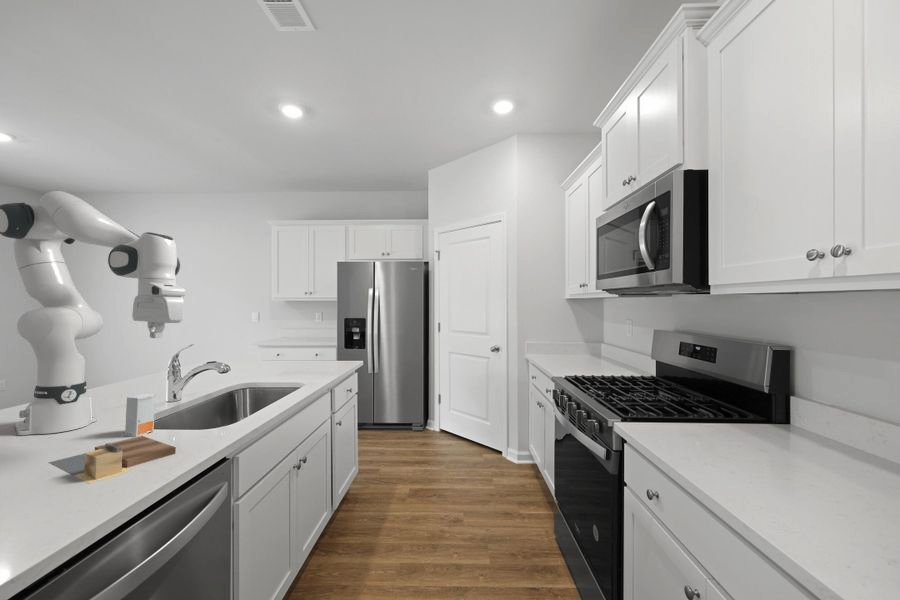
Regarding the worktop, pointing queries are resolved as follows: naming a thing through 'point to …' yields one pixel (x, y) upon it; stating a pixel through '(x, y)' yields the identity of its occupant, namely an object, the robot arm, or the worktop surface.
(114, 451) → the light wooden block
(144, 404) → the skincare box
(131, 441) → the walnut board
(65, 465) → the strip
